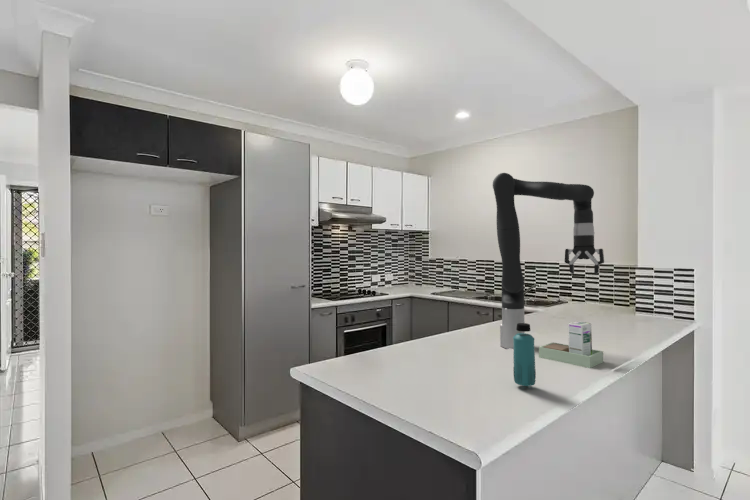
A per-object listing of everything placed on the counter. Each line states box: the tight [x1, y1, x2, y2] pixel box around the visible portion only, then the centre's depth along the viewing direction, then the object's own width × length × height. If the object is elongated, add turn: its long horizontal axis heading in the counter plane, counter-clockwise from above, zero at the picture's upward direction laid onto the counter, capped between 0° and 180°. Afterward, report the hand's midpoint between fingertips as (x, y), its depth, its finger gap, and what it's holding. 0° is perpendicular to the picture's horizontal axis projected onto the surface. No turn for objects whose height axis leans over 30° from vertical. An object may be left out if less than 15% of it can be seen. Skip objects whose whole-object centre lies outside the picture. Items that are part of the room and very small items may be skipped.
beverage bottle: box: [512, 322, 537, 387], centre depth 128 cm, size 6×7×20 cm
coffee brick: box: [544, 343, 569, 352], centre depth 160 cm, size 7×8×4 cm
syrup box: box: [567, 321, 593, 356], centre depth 153 cm, size 6×6×14 cm
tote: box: [538, 342, 604, 369], centre depth 156 cm, size 19×11×5 cm, turn 39°
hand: (584, 274), depth 168 cm, fingers open, 8 cm apart
